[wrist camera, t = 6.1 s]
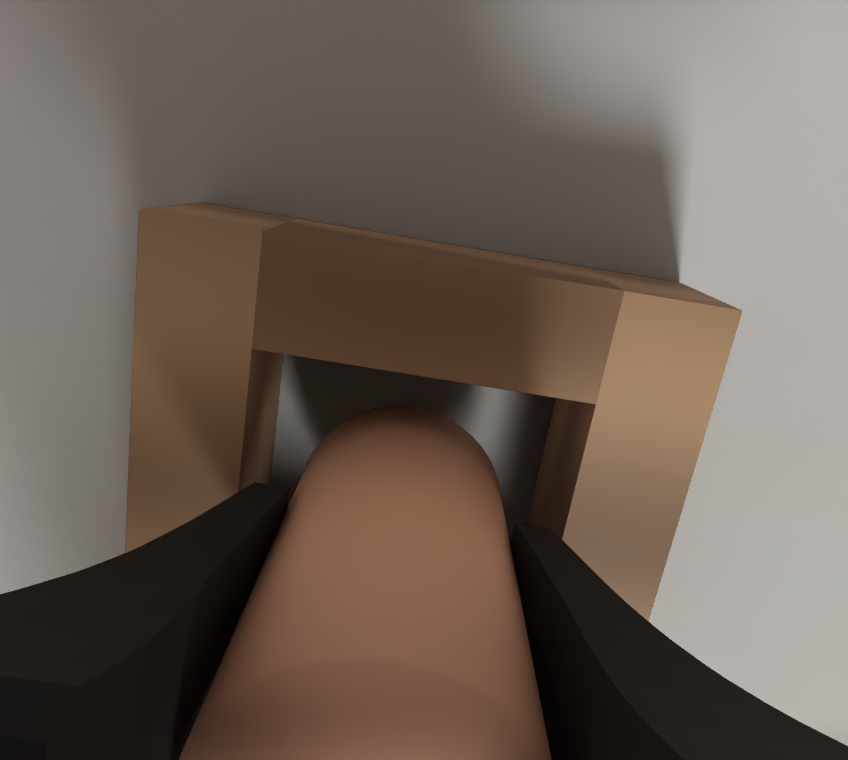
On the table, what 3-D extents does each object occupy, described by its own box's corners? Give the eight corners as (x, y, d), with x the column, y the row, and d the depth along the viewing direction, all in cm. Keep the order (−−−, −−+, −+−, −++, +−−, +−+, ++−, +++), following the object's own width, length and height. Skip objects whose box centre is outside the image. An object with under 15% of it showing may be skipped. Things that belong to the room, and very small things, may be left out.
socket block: (572, 677, 17) (600, 779, 14) (173, 617, 17) (118, 709, 14) (680, 282, 14) (742, 310, 11) (200, 202, 14) (139, 209, 11)
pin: (381, 619, 15) (333, 1003, 8) (259, 480, 14) (90, 781, 7) (538, 521, 14) (633, 856, 7) (421, 367, 13) (405, 585, 6)
